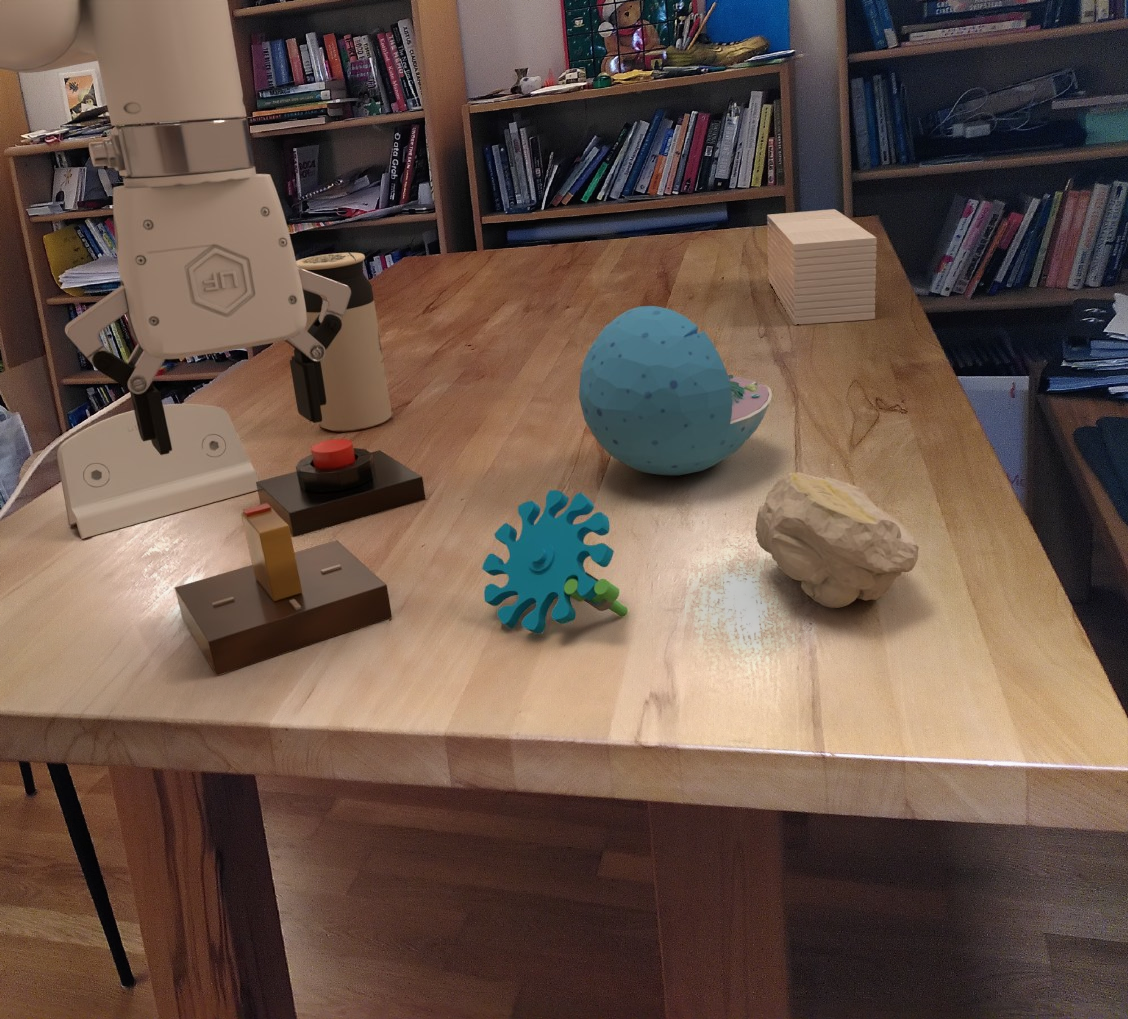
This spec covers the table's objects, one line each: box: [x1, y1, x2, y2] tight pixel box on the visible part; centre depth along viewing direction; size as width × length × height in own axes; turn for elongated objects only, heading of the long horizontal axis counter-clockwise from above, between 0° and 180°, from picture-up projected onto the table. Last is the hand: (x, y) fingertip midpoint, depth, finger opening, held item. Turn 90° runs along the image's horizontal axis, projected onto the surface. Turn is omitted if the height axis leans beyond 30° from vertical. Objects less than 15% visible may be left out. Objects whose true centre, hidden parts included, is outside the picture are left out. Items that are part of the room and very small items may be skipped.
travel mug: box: [296, 252, 393, 433], centre depth 113 cm, size 8×8×18 cm
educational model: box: [578, 305, 773, 477], centre depth 91 cm, size 16×19×15 cm
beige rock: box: [755, 471, 920, 609], centre depth 68 cm, size 12×8×10 cm
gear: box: [481, 489, 629, 635], centre depth 70 cm, size 11×6×10 cm
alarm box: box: [256, 447, 427, 538], centre depth 92 cm, size 12×10×4 cm
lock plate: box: [174, 539, 393, 676], centre depth 72 cm, size 12×10×3 cm
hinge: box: [56, 403, 260, 540], centre depth 95 cm, size 17×5×10 cm, turn 124°
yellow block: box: [240, 503, 302, 601], centre depth 71 cm, size 5×2×5 cm, turn 30°
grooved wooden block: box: [766, 208, 878, 326], centre depth 153 cm, size 32×11×11 cm, turn 176°
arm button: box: [310, 438, 356, 469], centre depth 91 cm, size 4×4×2 cm
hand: (238, 433), depth 68 cm, fingers open, 9 cm apart
